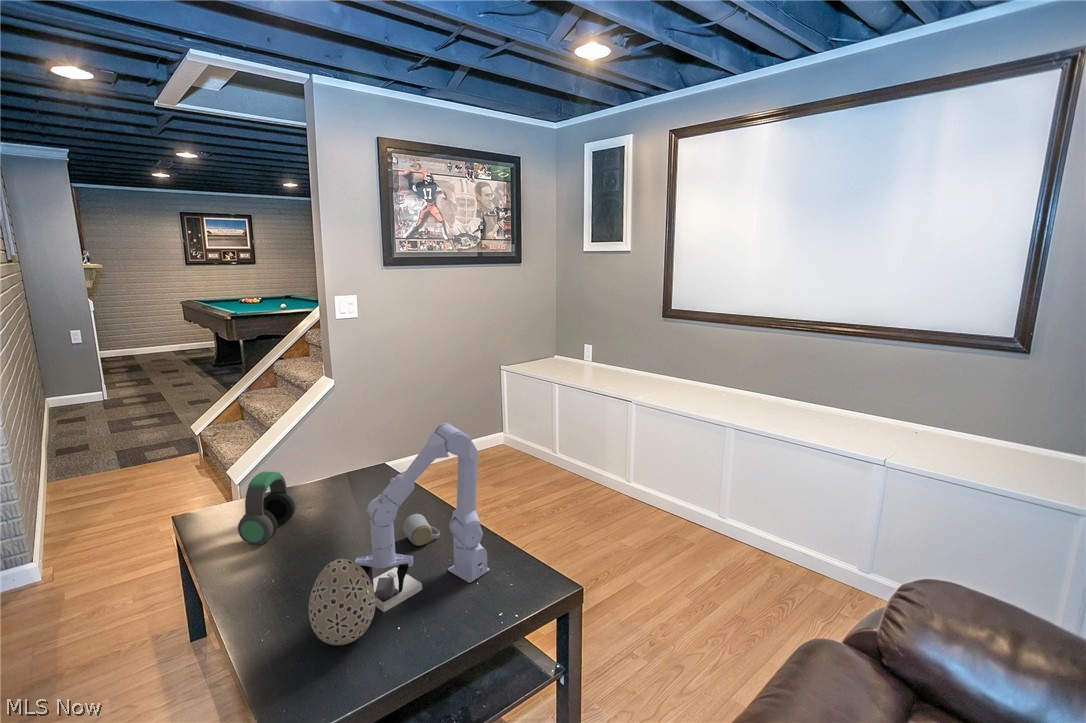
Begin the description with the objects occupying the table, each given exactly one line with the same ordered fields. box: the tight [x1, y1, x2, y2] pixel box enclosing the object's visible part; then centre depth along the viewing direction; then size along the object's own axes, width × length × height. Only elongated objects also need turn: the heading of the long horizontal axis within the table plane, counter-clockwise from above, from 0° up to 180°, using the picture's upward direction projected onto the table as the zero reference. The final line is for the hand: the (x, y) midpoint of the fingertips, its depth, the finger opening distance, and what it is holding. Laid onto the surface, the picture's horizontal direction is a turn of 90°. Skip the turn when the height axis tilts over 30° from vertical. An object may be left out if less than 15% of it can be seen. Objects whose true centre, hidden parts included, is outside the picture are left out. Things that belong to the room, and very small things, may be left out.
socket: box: [367, 566, 423, 613], centre depth 142 cm, size 12×12×2 cm
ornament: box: [308, 558, 376, 646], centre depth 123 cm, size 15×15×20 cm
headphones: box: [237, 471, 298, 546], centre depth 170 cm, size 19×11×20 cm, turn 179°
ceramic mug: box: [402, 513, 441, 547], centre depth 167 cm, size 11×8×8 cm
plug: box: [376, 577, 395, 602], centre depth 138 cm, size 4×4×5 cm
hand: (386, 590), depth 138 cm, fingers open, 7 cm apart
